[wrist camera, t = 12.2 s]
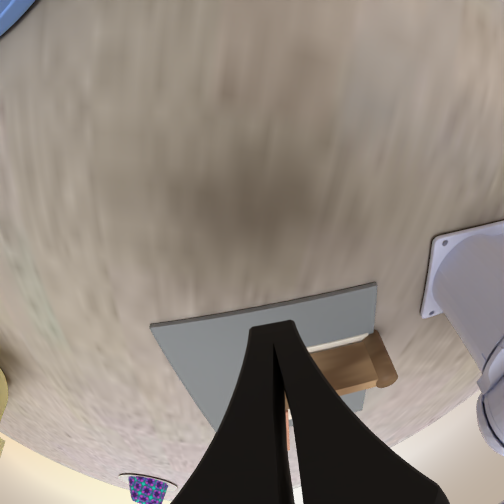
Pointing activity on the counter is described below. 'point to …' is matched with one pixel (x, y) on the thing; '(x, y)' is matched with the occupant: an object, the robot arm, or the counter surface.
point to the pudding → (147, 489)
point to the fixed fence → (356, 366)
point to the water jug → (12, 12)
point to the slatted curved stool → (2, 401)
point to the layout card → (236, 337)
